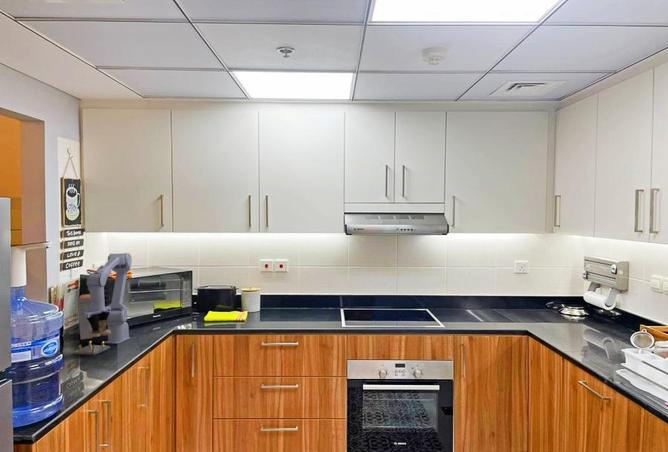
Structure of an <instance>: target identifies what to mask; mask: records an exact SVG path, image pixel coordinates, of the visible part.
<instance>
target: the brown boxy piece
mask: <svg viewBox="0 0 668 452" xmlns="http://www.w3.org/2000/svg"><path fill="white" fill-rule="evenodd" d="M110 333H111V331H110V330H108V329H107V325H106V320H99V322H98V331H93V330H92V331H91V332H89V333H88V336H90V337H93V338H97V337H98V338H99V337H101V336H108V334H110Z"/></svg>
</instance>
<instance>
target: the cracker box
mask: <svg viewBox="0 0 668 452" xmlns="http://www.w3.org/2000/svg"><path fill="white" fill-rule="evenodd" d="M77 308H78V309H77V310H78V325H79V339H80V340H89V339H93V338H94V337H90V336H88V333H89V332H91V331H92V327H91V324H90V323H89V321H88V320H87V318H84V313H87V312H89V311H90V310H91V304H90V293H88V294H85V293H84V294H81V295H80V296H79V297H78V298H77Z"/></svg>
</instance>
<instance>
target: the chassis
mask: <svg viewBox="0 0 668 452" xmlns="http://www.w3.org/2000/svg"><path fill="white" fill-rule="evenodd" d="M104 342H105V341H101V345H99V344H98V345H97V344H92V340H89V341H88V345H86V346H84V347H83V346H82V344H79V345H78V349H76V350H74V351H73V354H74V355H90V356H94V355H97V354H99V353H102V352H104V351H107V350H109V349H110V348H111V346H110V345H105V343H104Z"/></svg>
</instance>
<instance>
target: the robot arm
mask: <svg viewBox="0 0 668 452" xmlns="http://www.w3.org/2000/svg"><path fill="white" fill-rule="evenodd" d="M132 262H133V259H132V255H131V254H130V252H126V253H109V254H108V256H107V262H105V264H104V265H100V266H99V268H98V269H96V271H94V273H91V274H90V275H87V278H86V280H85V281H86V286H87V288H88V289H87V290H88V291H89V294H90V304H91V310H90V311H89V312H87V313H84V318H87V320H88V321H89V323H90V324H91V327H92V330H93V331H98V322H99V320H106V326H107V330H110V331H111V333H110V334H107V339H108V340H106V341H104V344H117V345H118V344H121V343H122V342H125V341H127V340H130V339H131V337H130V333H129V332H130V331H129V330H130V329H129V328H130V327H129V325H128V322H127V320H128V308H127V306H126V305H124V304H123V303H124V302H123V300H124V297H125V296H124V295H125V289H126V282H127V279H128V278H127V277H128V272H129V271H131V267H132ZM112 271H113V272H115V273H116V275H115V280H114V286H113V291H112V297H111V303H109V304H108V305H107V306H106V305H105V285H106V283H107V280H108V277H110V276H111V274H112Z"/></svg>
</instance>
